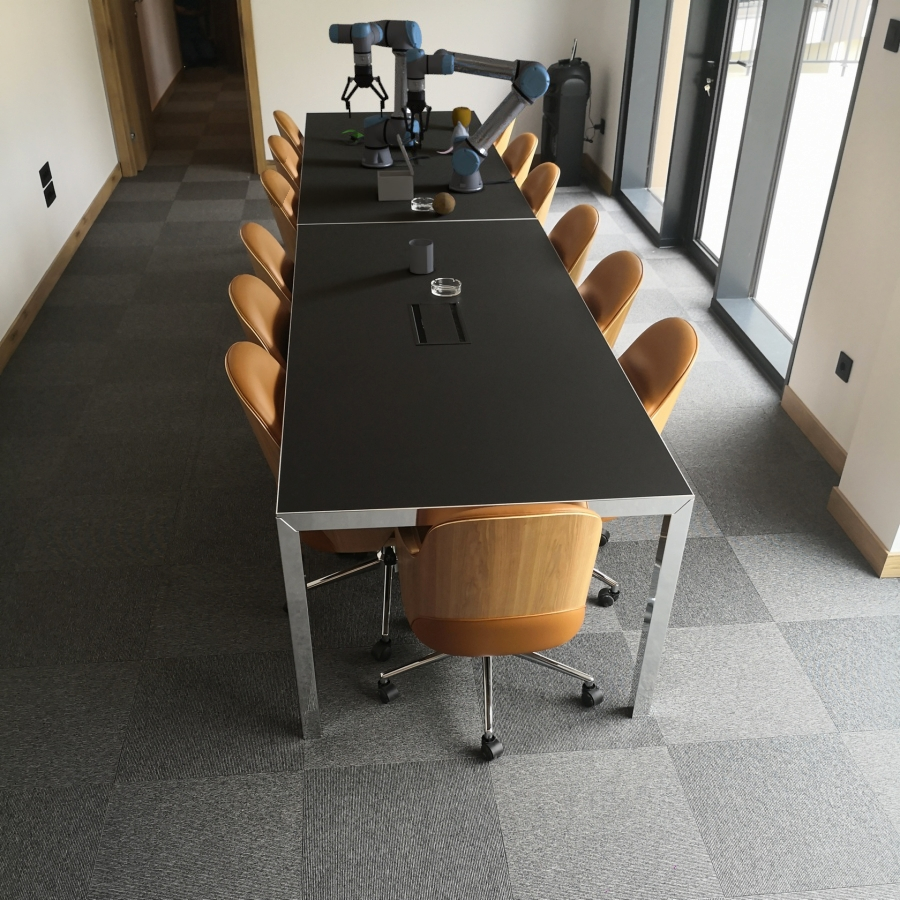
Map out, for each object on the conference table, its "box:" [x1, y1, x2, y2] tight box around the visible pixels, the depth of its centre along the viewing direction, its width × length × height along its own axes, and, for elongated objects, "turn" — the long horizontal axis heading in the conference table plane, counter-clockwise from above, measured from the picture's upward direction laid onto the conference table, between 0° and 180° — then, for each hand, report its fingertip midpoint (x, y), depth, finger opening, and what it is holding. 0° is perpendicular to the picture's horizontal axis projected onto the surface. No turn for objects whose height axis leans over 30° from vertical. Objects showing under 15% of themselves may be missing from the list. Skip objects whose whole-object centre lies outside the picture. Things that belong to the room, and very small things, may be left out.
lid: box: [397, 132, 420, 176], centre depth 373 cm, size 16×10×9 cm
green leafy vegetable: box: [340, 129, 364, 146], centre depth 465 cm, size 6×13×30 cm
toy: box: [437, 121, 470, 155], centre depth 440 cm, size 9×24×15 cm, turn 137°
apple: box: [451, 105, 472, 129], centre depth 487 cm, size 11×11×13 cm
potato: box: [431, 192, 456, 216], centre depth 360 cm, size 10×14×8 cm
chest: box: [376, 169, 414, 202], centre depth 380 cm, size 15×10×10 cm, turn 95°
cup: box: [408, 237, 434, 275], centre depth 305 cm, size 8×8×10 cm
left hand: (365, 117), depth 374 cm, fingers open, 13 cm apart
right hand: (417, 148), depth 372 cm, fingers closed on lid, 2 cm apart
